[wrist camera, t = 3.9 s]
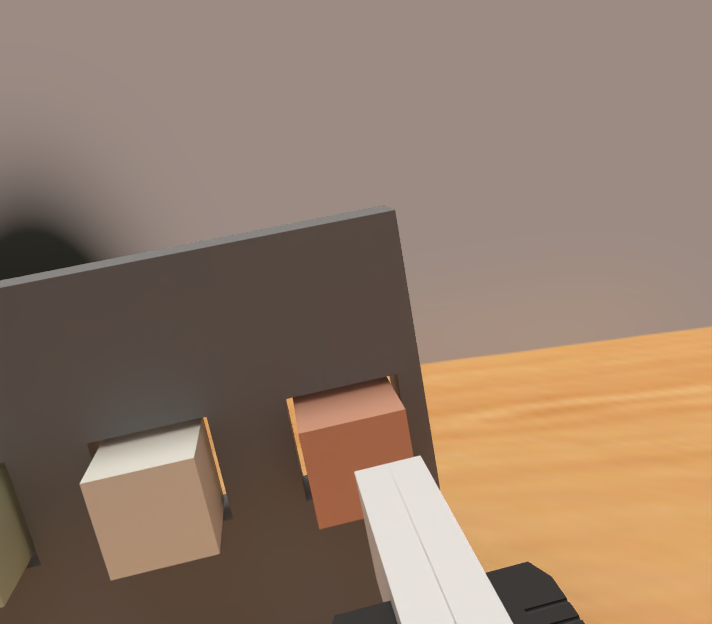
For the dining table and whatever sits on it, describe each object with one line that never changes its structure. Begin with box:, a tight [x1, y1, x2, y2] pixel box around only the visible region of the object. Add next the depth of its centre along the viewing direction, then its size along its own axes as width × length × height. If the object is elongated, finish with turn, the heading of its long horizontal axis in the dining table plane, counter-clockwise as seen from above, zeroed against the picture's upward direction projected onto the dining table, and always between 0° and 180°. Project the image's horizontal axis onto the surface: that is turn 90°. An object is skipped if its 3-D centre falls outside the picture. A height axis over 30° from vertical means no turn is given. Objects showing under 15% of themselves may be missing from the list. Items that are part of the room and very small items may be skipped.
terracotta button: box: [293, 377, 414, 529], centre depth 23 cm, size 4×4×4 cm
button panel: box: [0, 206, 440, 624], centre depth 28 cm, size 20×9×18 cm, turn 99°
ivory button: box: [80, 418, 224, 580], centre depth 23 cm, size 4×4×4 cm
